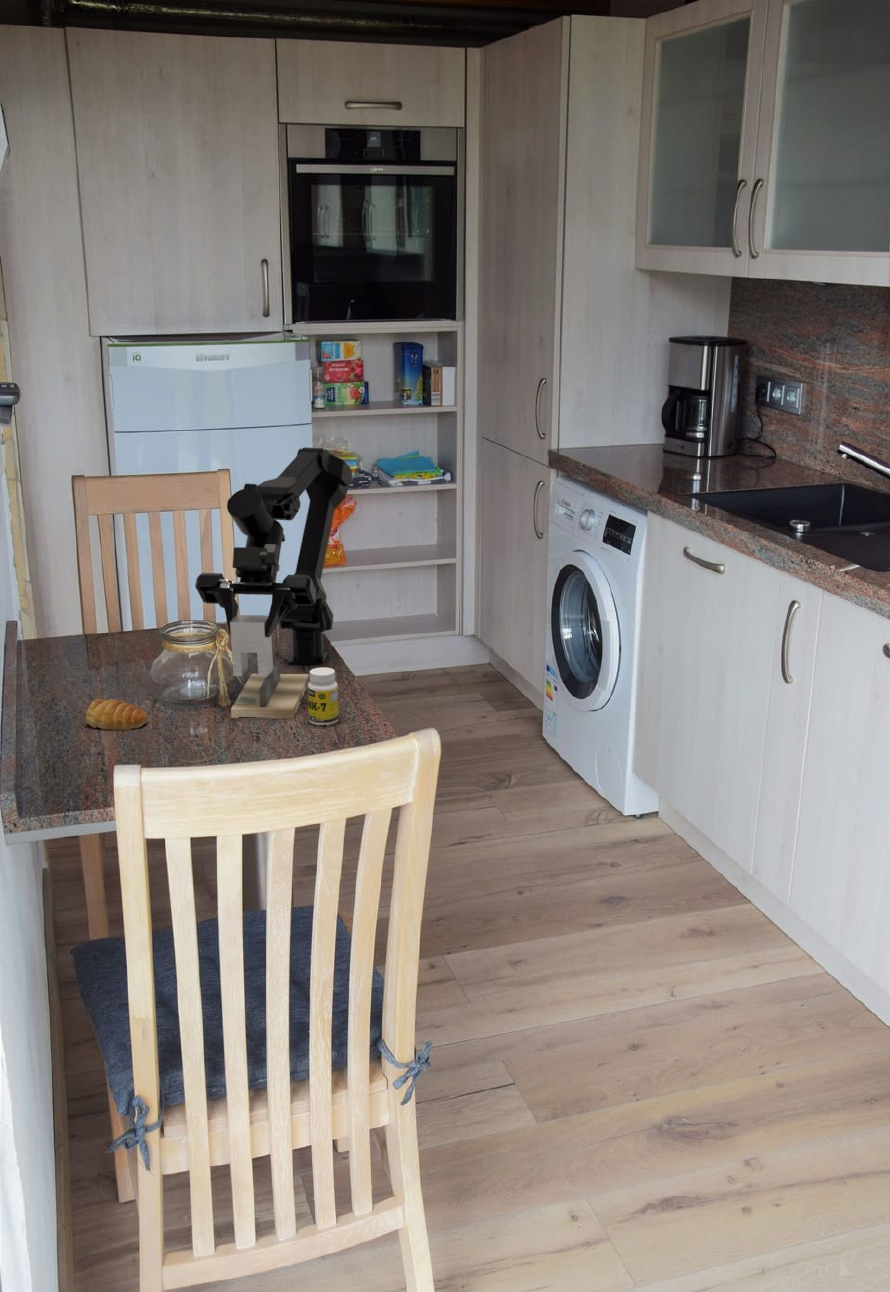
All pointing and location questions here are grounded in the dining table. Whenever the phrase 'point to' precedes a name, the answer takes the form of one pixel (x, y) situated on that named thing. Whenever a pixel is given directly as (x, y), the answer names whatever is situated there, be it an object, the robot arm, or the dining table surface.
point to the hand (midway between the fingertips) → (249, 635)
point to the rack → (271, 695)
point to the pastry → (115, 715)
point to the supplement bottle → (322, 697)
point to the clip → (250, 644)
